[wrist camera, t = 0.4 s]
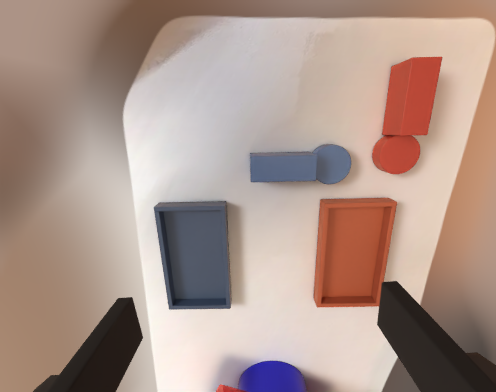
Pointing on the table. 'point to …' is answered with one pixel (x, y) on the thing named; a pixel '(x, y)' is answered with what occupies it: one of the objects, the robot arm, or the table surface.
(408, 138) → the red spoon
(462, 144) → the table surface
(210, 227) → the blue tray
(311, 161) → the blue spoon
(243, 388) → the blue red crossed cylinders
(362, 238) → the red tray
